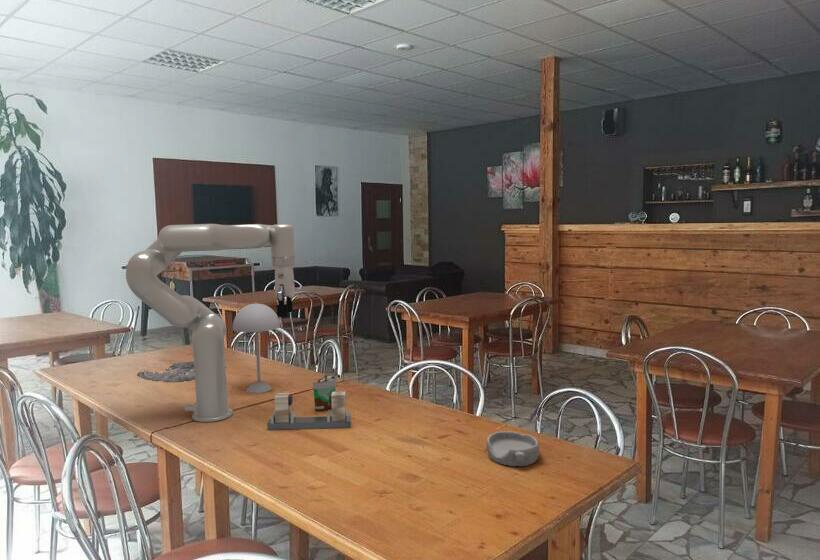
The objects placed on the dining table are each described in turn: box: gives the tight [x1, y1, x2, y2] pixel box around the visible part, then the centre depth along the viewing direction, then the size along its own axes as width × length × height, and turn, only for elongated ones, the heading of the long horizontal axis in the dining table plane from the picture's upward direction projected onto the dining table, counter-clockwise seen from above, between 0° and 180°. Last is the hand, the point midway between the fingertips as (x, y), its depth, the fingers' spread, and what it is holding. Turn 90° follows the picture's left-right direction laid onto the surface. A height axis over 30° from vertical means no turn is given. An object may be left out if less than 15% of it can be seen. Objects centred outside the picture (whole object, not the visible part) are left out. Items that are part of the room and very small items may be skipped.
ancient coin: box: [136, 361, 195, 383], centre depth 253 cm, size 33×35×1 cm
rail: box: [266, 409, 352, 431], centre depth 183 cm, size 25×5×4 cm, turn 92°
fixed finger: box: [329, 390, 347, 421], centre depth 183 cm, size 5×4×8 cm
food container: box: [312, 373, 338, 412], centre depth 201 cm, size 12×6×10 cm, turn 168°
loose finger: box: [273, 392, 293, 423], centre depth 183 cm, size 4×5×8 cm
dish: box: [486, 430, 540, 467], centre depth 158 cm, size 14×14×5 cm
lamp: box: [232, 301, 281, 394], centre depth 222 cm, size 17×17×33 cm
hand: (285, 314), depth 196 cm, fingers open, 9 cm apart
